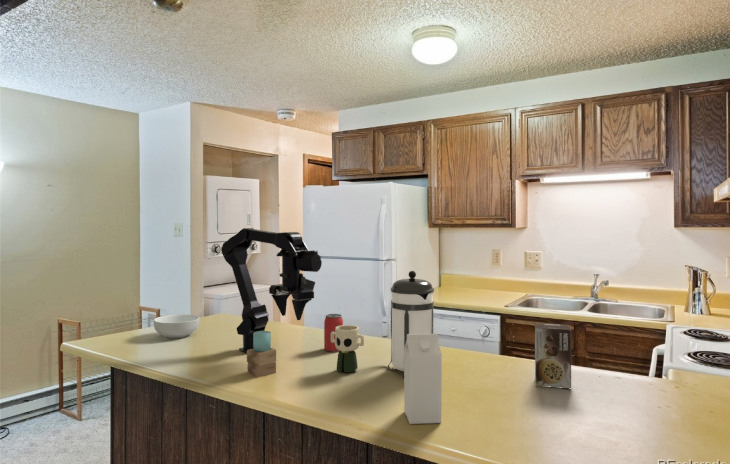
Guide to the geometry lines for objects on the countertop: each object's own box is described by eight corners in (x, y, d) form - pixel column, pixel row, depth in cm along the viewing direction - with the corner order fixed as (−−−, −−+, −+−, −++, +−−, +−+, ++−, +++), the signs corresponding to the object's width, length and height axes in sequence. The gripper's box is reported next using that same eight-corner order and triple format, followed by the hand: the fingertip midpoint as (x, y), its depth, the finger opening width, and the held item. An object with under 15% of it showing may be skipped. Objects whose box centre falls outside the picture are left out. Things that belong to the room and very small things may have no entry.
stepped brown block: (246, 362, 136) (246, 350, 136) (263, 357, 141) (263, 346, 141) (259, 366, 132) (259, 353, 132) (276, 361, 137) (276, 349, 137)
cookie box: (569, 382, 128) (569, 324, 128) (571, 390, 122) (572, 329, 122) (534, 378, 131) (534, 322, 131) (534, 386, 125) (535, 326, 125)
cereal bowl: (190, 341, 172) (189, 322, 172) (145, 341, 173) (145, 322, 172) (206, 331, 189) (206, 313, 189) (165, 330, 190) (165, 313, 189)
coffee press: (444, 366, 142) (444, 269, 141) (428, 383, 128) (429, 274, 127) (391, 359, 149) (391, 267, 149) (371, 374, 135) (371, 271, 134)
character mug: (325, 372, 137) (325, 328, 137) (336, 365, 144) (336, 323, 143) (358, 376, 133) (358, 331, 133) (368, 369, 139) (368, 326, 139)
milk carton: (404, 411, 108) (404, 330, 108) (434, 410, 109) (434, 330, 109) (409, 424, 101) (409, 338, 101) (441, 423, 102) (441, 337, 102)
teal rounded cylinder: (250, 349, 137) (250, 332, 137) (265, 346, 140) (265, 330, 140) (258, 353, 133) (258, 335, 133) (273, 349, 136) (273, 333, 136)
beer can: (344, 347, 164) (344, 313, 164) (341, 352, 158) (341, 317, 157) (326, 346, 165) (326, 313, 165) (322, 352, 158) (322, 317, 158)
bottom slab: (247, 373, 137) (247, 361, 137) (265, 368, 141) (265, 357, 141) (257, 378, 132) (257, 366, 132) (275, 373, 136) (275, 361, 136)
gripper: (327, 270, 150) (327, 319, 150) (296, 266, 164) (296, 310, 164) (298, 273, 143) (298, 323, 143) (268, 268, 157) (268, 314, 157)
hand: (291, 317), depth 152 cm, fingers open, 9 cm apart
